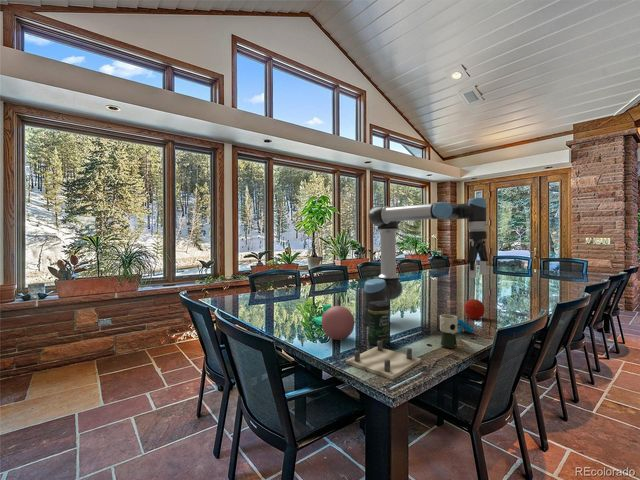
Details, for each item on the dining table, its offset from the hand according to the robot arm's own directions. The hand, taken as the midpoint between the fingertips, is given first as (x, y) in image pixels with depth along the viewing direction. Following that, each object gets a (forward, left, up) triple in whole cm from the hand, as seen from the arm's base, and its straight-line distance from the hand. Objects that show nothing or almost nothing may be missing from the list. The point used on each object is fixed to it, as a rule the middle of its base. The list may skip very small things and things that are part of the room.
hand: (478, 276), depth 148 cm
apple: (-12, +31, -28) cm, 43 cm away
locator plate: (-15, -57, -28) cm, 66 cm away
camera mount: (-69, -33, -28) cm, 82 cm away
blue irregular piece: (-7, 0, -28) cm, 29 cm away
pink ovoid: (-48, -47, -28) cm, 73 cm away
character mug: (-4, -24, -28) cm, 37 cm away
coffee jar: (-29, -39, -28) cm, 56 cm away
